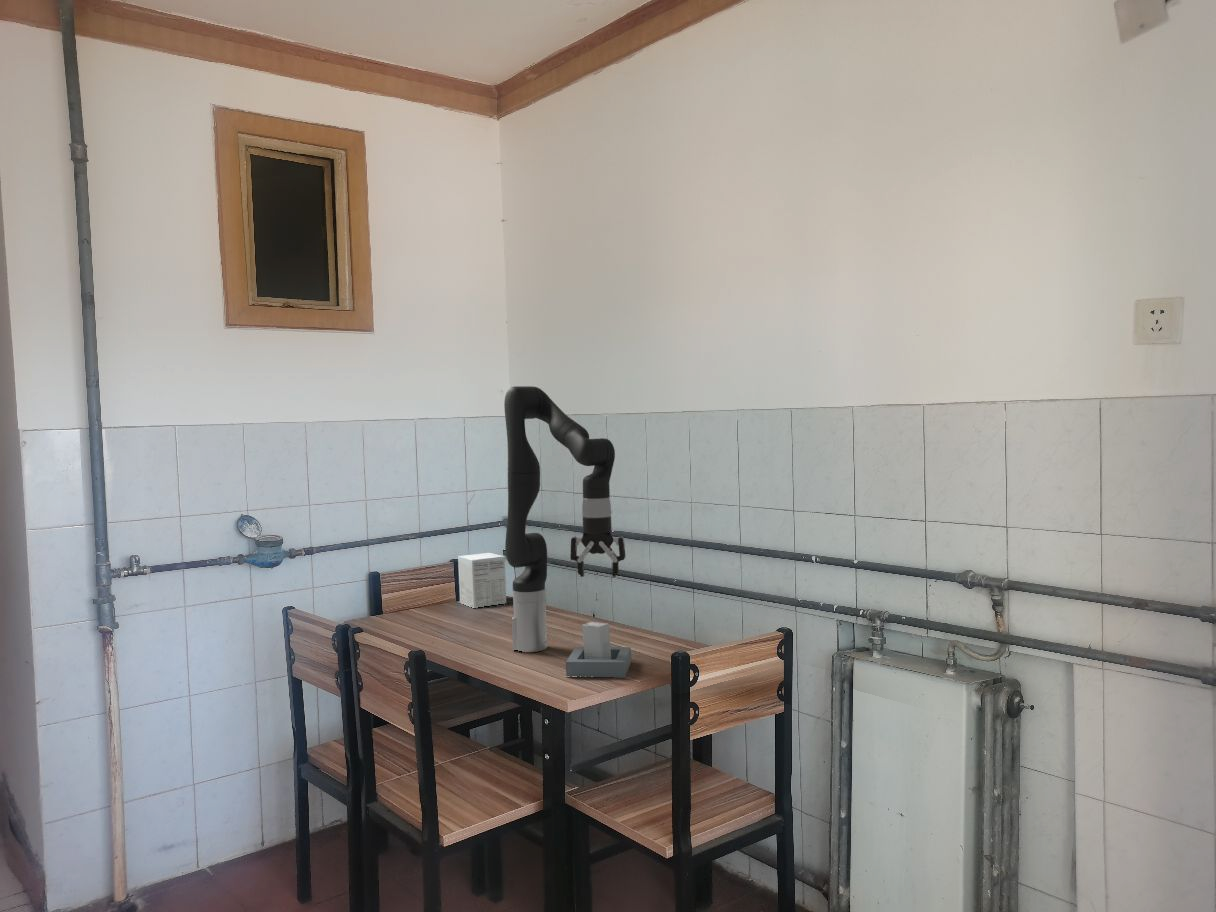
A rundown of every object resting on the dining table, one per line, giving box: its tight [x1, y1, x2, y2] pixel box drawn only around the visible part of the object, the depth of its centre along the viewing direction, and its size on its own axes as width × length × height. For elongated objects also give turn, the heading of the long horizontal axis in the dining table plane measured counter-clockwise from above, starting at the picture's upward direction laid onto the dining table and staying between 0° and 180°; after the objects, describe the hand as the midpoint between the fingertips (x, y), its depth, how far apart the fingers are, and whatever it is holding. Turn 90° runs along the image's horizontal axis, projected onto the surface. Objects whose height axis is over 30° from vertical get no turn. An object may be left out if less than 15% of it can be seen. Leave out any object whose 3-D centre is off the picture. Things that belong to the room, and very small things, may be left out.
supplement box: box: [457, 552, 507, 609], centre depth 328 cm, size 13×13×18 cm
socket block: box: [565, 646, 632, 679], centre depth 237 cm, size 15×15×4 cm
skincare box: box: [582, 621, 612, 659], centre depth 237 cm, size 6×4×12 cm
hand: (598, 576), depth 238 cm, fingers open, 8 cm apart
